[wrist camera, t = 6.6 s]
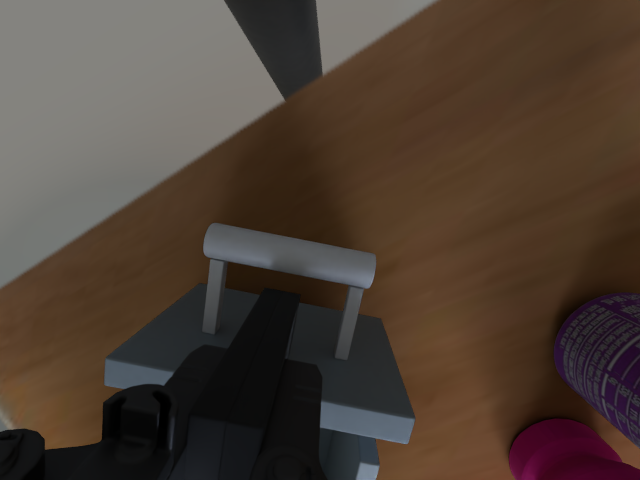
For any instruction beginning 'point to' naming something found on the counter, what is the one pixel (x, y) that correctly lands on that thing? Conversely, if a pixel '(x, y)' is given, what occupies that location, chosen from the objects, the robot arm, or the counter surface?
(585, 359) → the beverage can
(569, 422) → the pepper mill
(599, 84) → the counter surface
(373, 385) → the drawer
